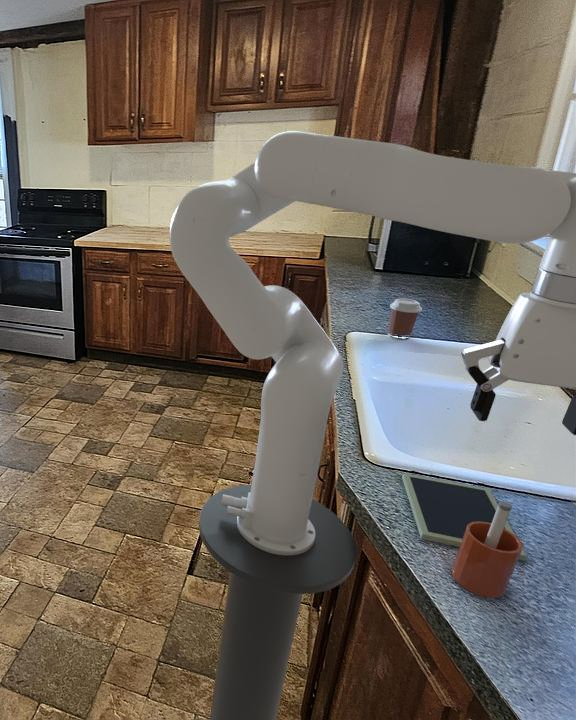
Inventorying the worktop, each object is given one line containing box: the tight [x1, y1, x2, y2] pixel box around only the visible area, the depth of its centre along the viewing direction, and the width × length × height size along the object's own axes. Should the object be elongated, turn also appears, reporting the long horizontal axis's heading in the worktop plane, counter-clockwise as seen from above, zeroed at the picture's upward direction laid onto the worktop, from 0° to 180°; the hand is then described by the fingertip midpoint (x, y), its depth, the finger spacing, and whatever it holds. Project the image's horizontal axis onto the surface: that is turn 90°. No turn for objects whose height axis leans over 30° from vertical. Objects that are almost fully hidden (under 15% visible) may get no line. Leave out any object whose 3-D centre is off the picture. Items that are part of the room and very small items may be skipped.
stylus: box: [484, 500, 513, 549], centre depth 74 cm, size 1×1×13 cm
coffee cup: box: [387, 298, 423, 337], centre depth 172 cm, size 9×9×12 cm
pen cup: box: [451, 521, 524, 599], centre depth 75 cm, size 6×6×8 cm
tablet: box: [401, 472, 528, 562], centre depth 90 cm, size 14×18×1 cm
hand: (523, 423), depth 65 cm, fingers open, 9 cm apart
